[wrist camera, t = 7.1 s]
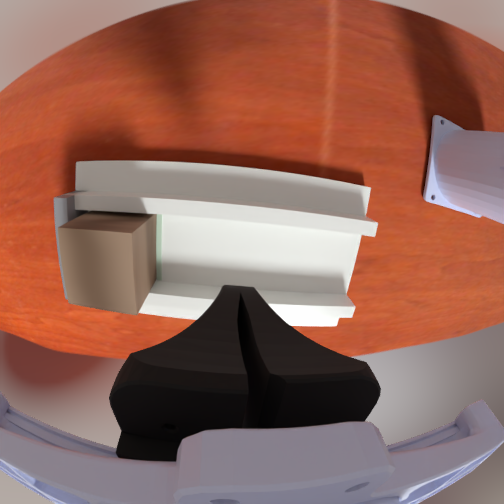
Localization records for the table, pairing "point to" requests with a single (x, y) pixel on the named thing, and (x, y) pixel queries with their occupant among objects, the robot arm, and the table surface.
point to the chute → (234, 233)
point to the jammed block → (109, 259)
